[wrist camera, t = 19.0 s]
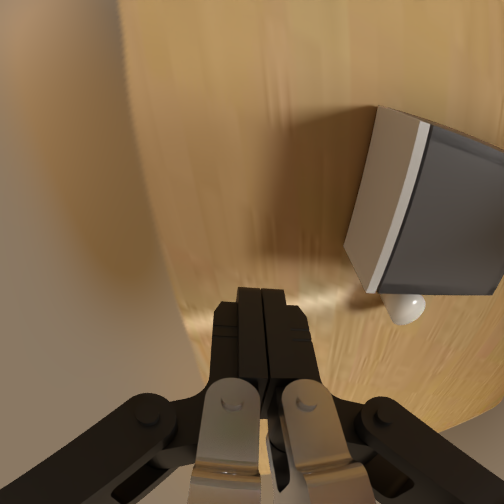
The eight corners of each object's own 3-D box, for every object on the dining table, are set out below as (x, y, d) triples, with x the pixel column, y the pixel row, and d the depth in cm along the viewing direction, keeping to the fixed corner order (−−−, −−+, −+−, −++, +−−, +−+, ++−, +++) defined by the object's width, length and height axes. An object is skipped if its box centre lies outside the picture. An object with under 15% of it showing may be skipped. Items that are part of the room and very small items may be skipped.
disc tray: (493, 145, 23) (538, 170, 17) (453, 257, 30) (484, 295, 24) (378, 105, 21) (420, 120, 16) (343, 246, 28) (365, 292, 23)
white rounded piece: (417, 275, 31) (431, 296, 28) (404, 303, 33) (415, 324, 30) (387, 273, 31) (400, 295, 28) (375, 303, 33) (385, 325, 30)
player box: (499, 147, 23) (545, 174, 17) (459, 256, 30) (492, 295, 24) (388, 107, 22) (433, 125, 16) (352, 245, 29) (378, 293, 23)
